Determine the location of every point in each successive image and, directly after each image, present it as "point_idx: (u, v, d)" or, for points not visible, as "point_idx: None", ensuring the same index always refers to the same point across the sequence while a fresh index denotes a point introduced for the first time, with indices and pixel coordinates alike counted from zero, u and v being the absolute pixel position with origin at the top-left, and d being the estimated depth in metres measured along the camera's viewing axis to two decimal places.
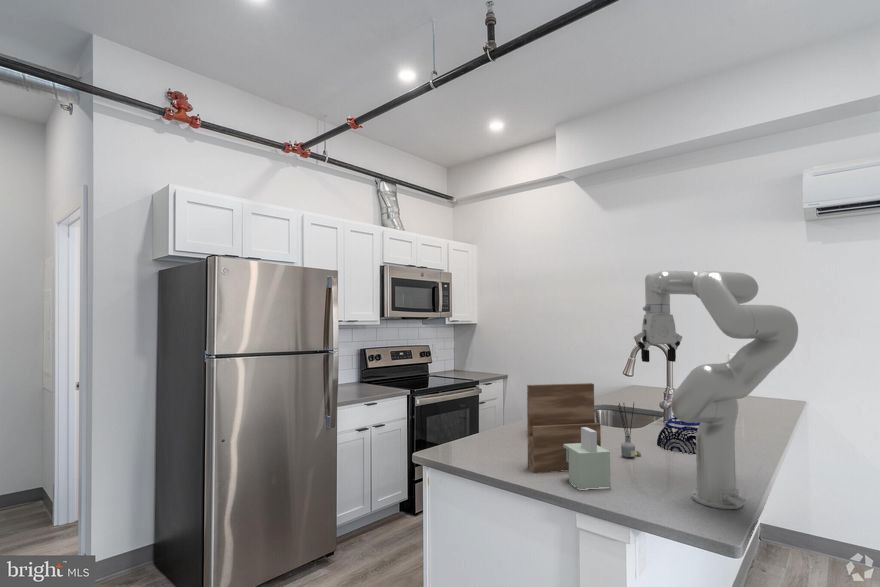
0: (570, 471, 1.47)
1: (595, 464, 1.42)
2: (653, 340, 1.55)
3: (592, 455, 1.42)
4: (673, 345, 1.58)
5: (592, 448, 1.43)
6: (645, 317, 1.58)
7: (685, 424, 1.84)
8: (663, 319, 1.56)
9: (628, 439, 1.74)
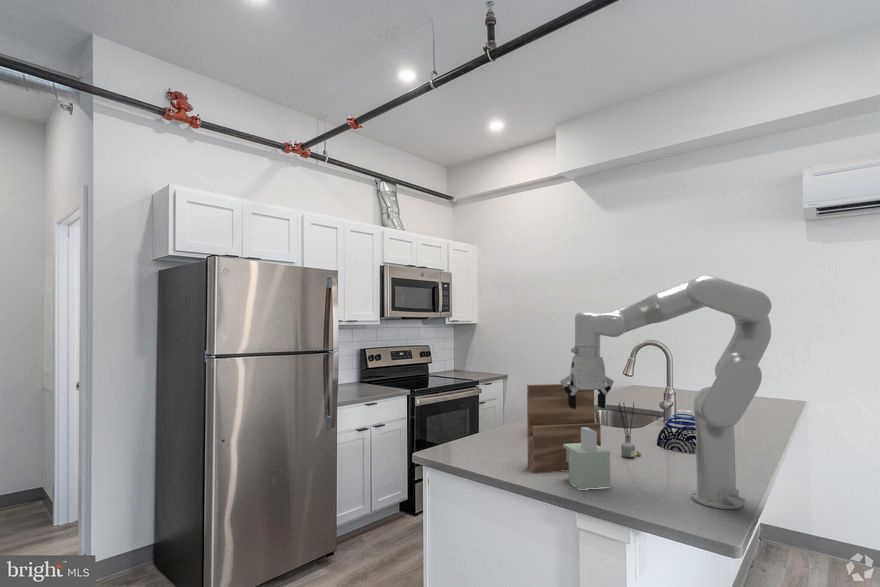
0: (570, 471, 1.47)
1: (595, 464, 1.42)
2: (580, 385, 1.44)
3: (592, 455, 1.42)
4: (603, 390, 1.46)
5: (592, 448, 1.43)
6: (573, 360, 1.46)
7: (685, 424, 1.84)
8: (591, 363, 1.44)
9: (628, 439, 1.74)
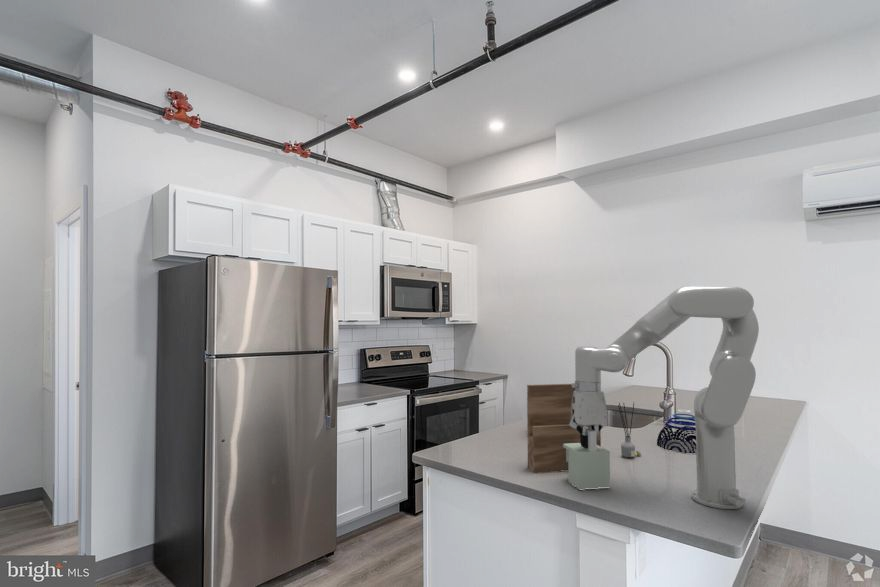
0: (570, 471, 1.47)
1: (595, 464, 1.42)
2: (581, 421, 1.43)
3: (592, 455, 1.42)
4: (596, 429, 1.45)
5: (592, 447, 1.43)
6: (574, 395, 1.46)
7: (685, 424, 1.84)
8: (592, 398, 1.44)
9: (628, 439, 1.74)
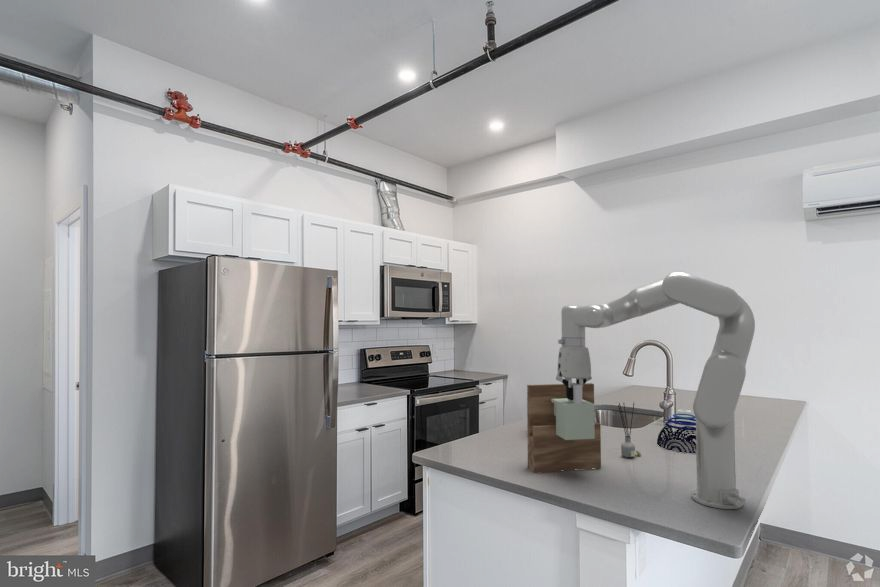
0: (557, 423, 1.56)
1: (581, 415, 1.52)
2: (567, 374, 1.53)
3: (577, 407, 1.52)
4: (581, 382, 1.55)
5: (578, 400, 1.52)
6: (560, 350, 1.56)
7: (685, 424, 1.84)
8: (577, 353, 1.54)
9: (628, 439, 1.74)
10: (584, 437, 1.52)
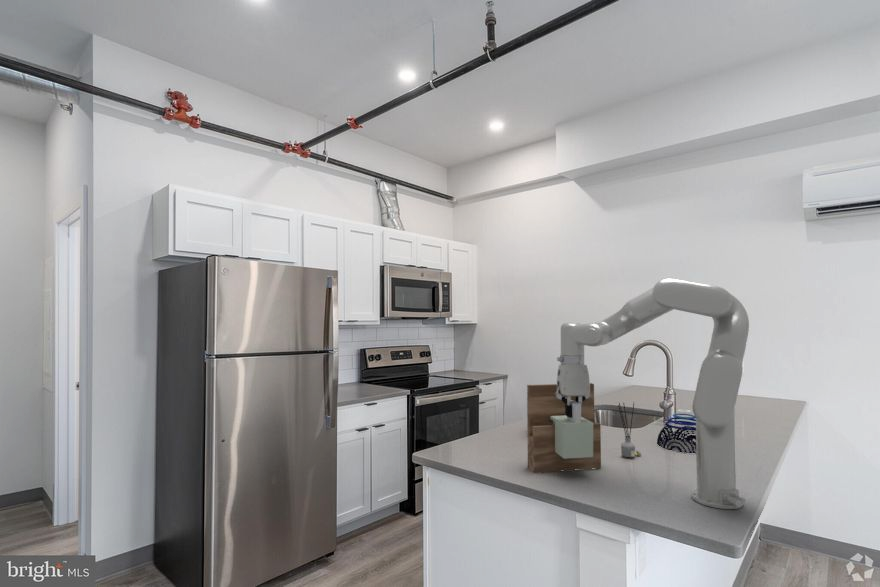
0: (556, 441, 1.57)
1: (579, 434, 1.52)
2: (565, 392, 1.53)
3: (576, 426, 1.52)
4: (579, 399, 1.56)
5: (577, 419, 1.53)
6: (559, 368, 1.56)
7: (685, 424, 1.84)
8: (576, 370, 1.54)
9: (628, 439, 1.74)
10: (583, 456, 1.52)
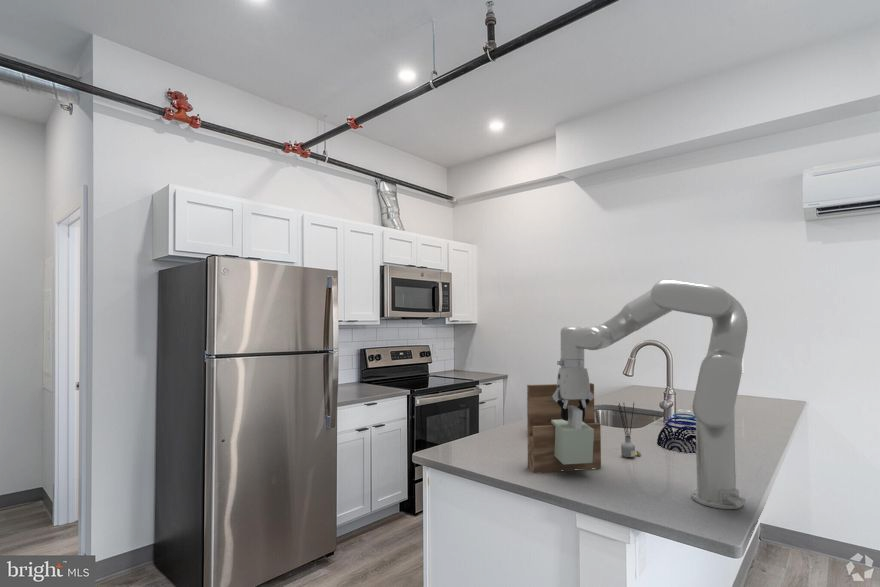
0: (556, 445, 1.57)
1: (580, 440, 1.52)
2: (566, 396, 1.53)
3: (577, 432, 1.52)
4: (583, 402, 1.56)
5: (578, 425, 1.52)
6: (559, 371, 1.56)
7: (685, 424, 1.84)
8: (576, 374, 1.54)
9: (628, 439, 1.74)
10: (582, 461, 1.53)
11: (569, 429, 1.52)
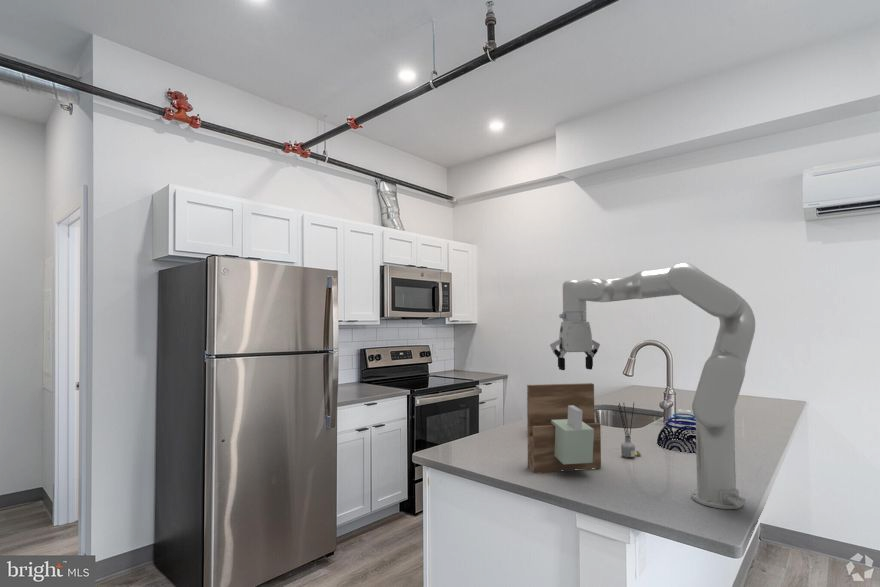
0: (556, 445, 1.57)
1: (580, 440, 1.52)
2: (568, 348, 1.54)
3: (577, 432, 1.52)
4: (590, 353, 1.57)
5: (577, 425, 1.52)
6: (561, 325, 1.57)
7: (685, 424, 1.84)
8: (578, 327, 1.55)
9: (628, 439, 1.74)
10: (582, 461, 1.53)
11: (569, 429, 1.52)
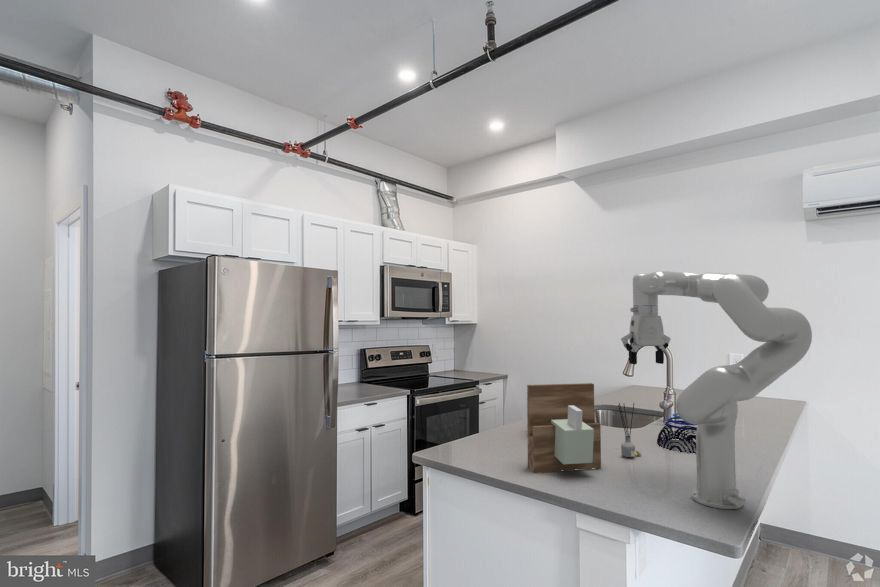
0: (556, 445, 1.57)
1: (580, 440, 1.52)
2: (640, 342, 1.52)
3: (577, 432, 1.52)
4: (661, 347, 1.55)
5: (577, 425, 1.52)
6: (632, 318, 1.55)
7: (685, 423, 1.85)
8: (651, 320, 1.53)
9: (628, 439, 1.74)
10: (582, 461, 1.53)
11: (569, 429, 1.52)
